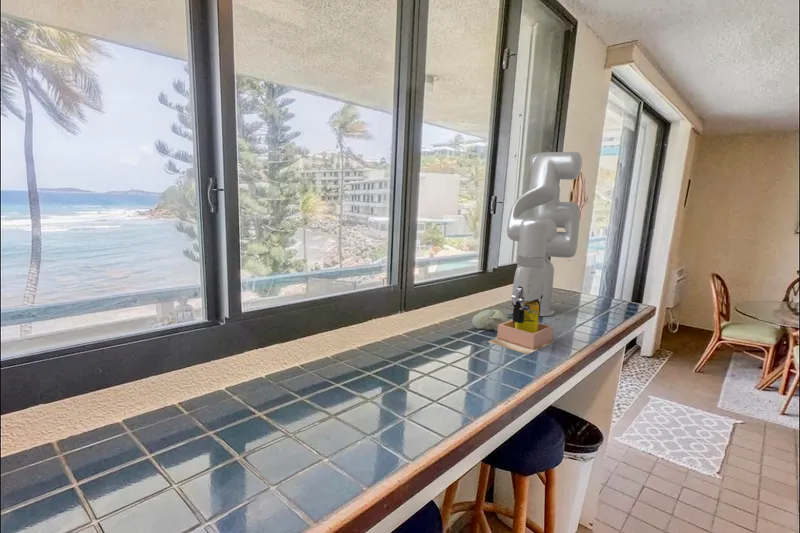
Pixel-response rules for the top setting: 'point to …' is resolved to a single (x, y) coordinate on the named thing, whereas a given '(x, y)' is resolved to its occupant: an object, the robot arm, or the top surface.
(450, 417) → the top surface
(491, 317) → the seashell
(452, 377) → the top surface
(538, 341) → the pink open box
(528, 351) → the beech board
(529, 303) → the supplement box
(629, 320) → the top surface
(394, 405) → the top surface
